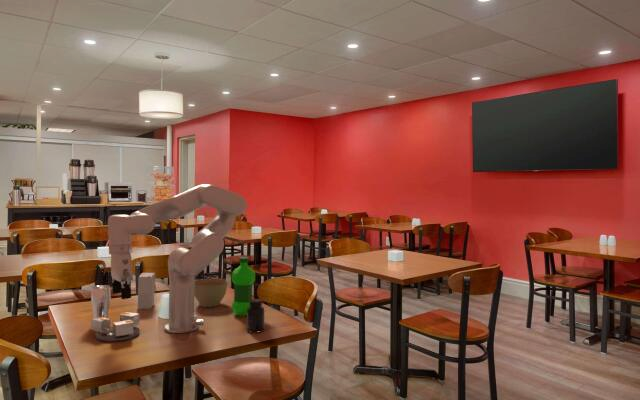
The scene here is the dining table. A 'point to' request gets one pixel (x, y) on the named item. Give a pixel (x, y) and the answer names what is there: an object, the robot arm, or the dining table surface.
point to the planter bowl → (210, 291)
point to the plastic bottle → (242, 286)
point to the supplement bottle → (255, 316)
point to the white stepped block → (130, 317)
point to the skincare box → (146, 290)
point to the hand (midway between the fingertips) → (121, 295)
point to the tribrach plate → (110, 337)
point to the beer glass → (100, 300)
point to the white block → (100, 324)
